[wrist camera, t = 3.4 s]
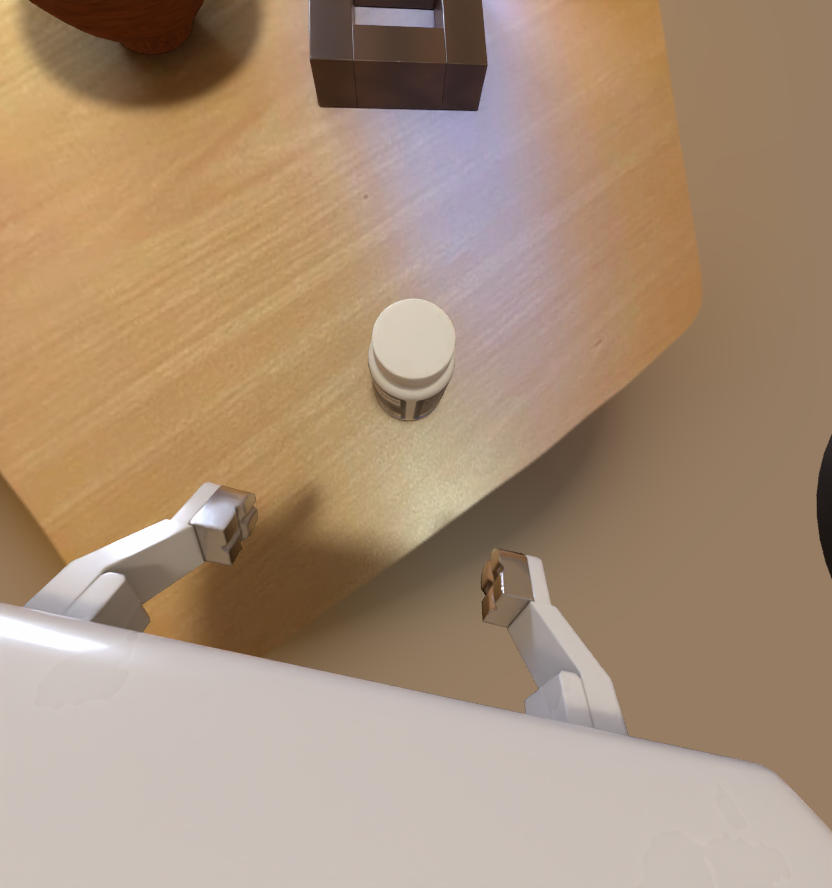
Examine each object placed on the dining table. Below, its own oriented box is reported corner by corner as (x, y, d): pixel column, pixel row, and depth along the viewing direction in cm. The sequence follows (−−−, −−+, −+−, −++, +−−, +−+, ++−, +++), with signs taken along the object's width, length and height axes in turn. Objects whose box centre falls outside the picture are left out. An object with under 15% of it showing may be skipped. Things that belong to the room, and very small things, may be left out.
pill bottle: (438, 355, 24) (461, 288, 16) (443, 419, 24) (469, 384, 16) (372, 358, 24) (361, 291, 16) (376, 423, 24) (365, 389, 15)
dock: (466, -19, 29) (475, -77, 26) (477, 110, 27) (487, 64, 24) (316, -26, 28) (307, -88, 25) (319, 106, 26) (309, 58, 23)
